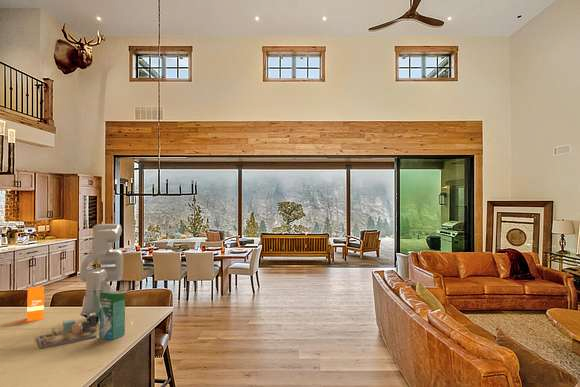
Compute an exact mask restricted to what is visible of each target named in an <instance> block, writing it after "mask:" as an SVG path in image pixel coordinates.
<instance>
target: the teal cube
mask: <svg viewBox="0 0 580 387" xmlns="http://www.w3.org/2000/svg"><path fill="white" fill-rule="evenodd" d="M73 324H76V322H75V320H74V319H69V320H64V321H62V330H63V331H64V333H65V332H71V331H72V325H73Z"/></svg>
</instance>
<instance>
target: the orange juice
mask: <svg viewBox="0 0 580 387" xmlns="http://www.w3.org/2000/svg"><path fill="white" fill-rule="evenodd" d="M26 302H27V304H26V305H27V306H26V322H32V321H38V320H39V321H40V320H44V316H45V315H44V313H45V312H44V311H45V286H44V285H43V286H42V285H41V286H35V287H34V286H33V287H27V300H26Z"/></svg>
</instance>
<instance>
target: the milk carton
mask: <svg viewBox="0 0 580 387" xmlns="http://www.w3.org/2000/svg"><path fill="white" fill-rule="evenodd" d="M125 319H126V293H120V291H119V290H111V293H106V292H100V318H99V332H98V334H99V335H98V336H99V339H103V340H110V341H113V340H116V339H118V338H121V337H122V336H125V333H126V332H125V326H126V324H125V322H126V321H125Z"/></svg>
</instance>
